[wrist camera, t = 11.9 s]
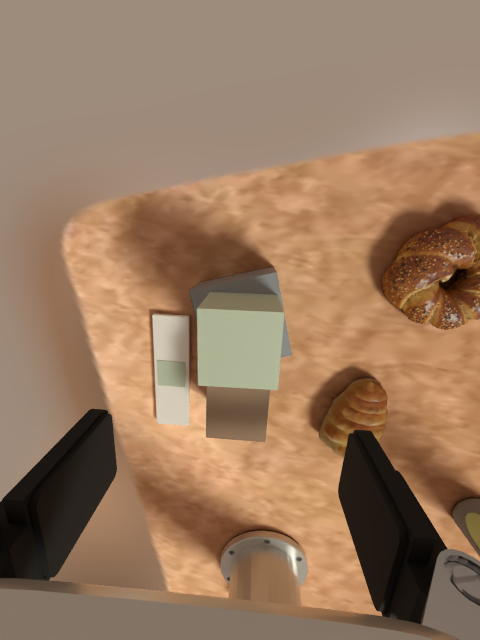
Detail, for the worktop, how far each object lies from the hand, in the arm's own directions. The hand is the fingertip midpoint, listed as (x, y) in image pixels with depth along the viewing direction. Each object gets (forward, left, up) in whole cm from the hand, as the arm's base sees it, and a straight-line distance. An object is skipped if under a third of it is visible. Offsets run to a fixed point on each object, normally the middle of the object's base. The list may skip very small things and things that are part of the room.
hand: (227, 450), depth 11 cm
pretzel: (+5, -19, -21) cm, 29 cm away
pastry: (-12, -13, -21) cm, 27 cm away
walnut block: (-9, 0, -20) cm, 22 cm away
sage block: (0, 0, -15) cm, 15 cm away
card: (-8, +8, -20) cm, 23 cm away
